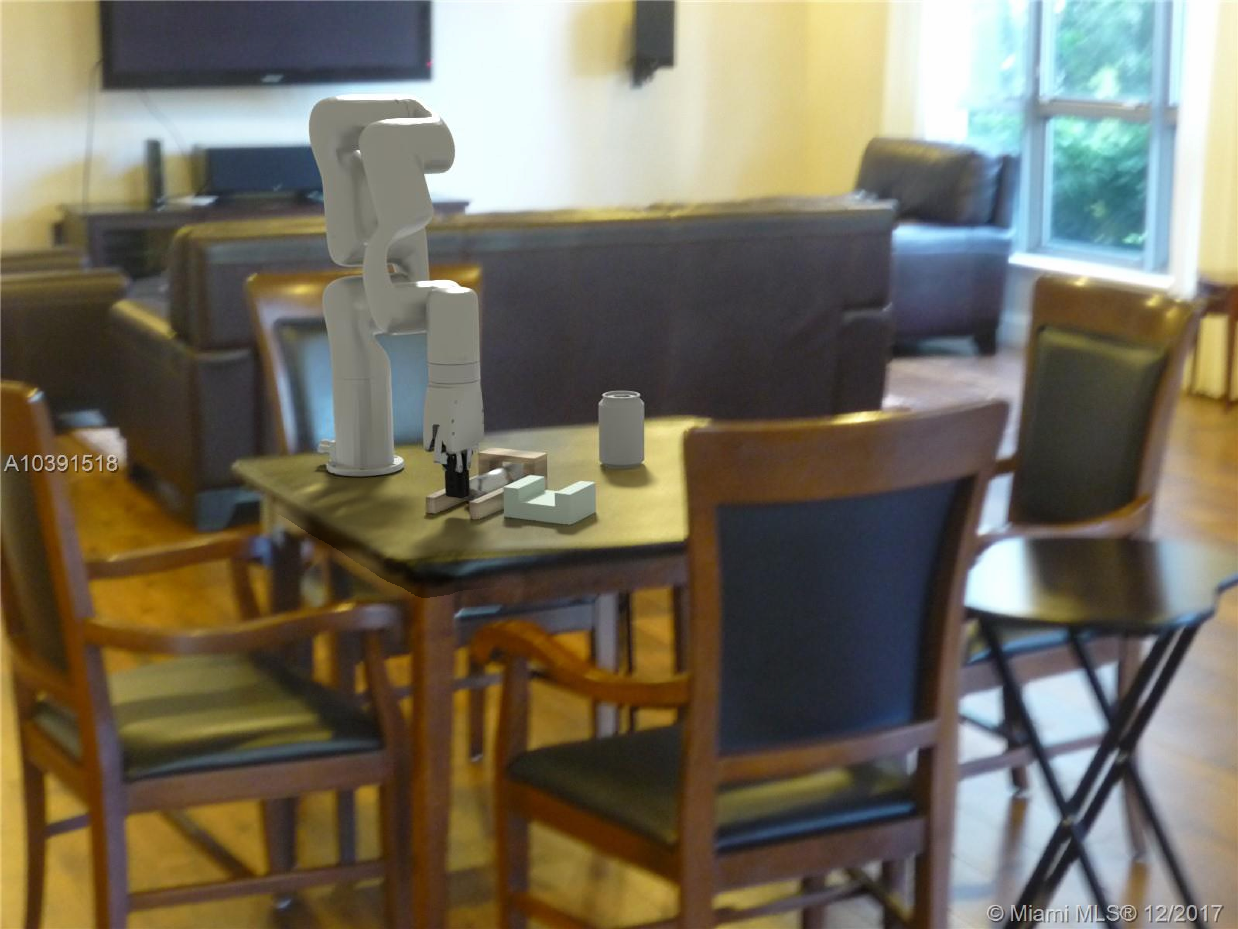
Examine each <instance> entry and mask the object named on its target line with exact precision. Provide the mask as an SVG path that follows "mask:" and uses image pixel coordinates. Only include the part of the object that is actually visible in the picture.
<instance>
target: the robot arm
mask: <svg viewBox="0 0 1238 929" xmlns="http://www.w3.org/2000/svg"><path fill="white" fill-rule="evenodd" d="M308 135H309V142H310V147H311V150H312V151H311V152H312V153H313V157H314V160H315V161H316V165H317V168H318V171H319V174H320V178H321V182H322V183H321V184H322V193H323V195H322V196H323V206H324V207H323V208H324V209H323V210H324V222H325V233H326V240H327V241H326V242H327V250H328V254H329V256H330V258H331V260H332V261H333V263H335V264H336V265H338V266H343V267H347V268H348V267H350V268H351V267H352V268H353V267H355V268H356V267H359V268H360V267H362V274H358V275H357V274H355V275H349V276H348V275H347V276H342V277H339V278H337V279H334V280H332V281H330V283H329V284H327V285H326V287H325V288H324V290H323V293H322V298H321V301H322V302H321V304H322V312H323V316H324V322H325V325H326V326H325V327H326V332H327V336H328V337H327V338H328V343H329V344H328V345H329V351H330V365H331V366H330V368H331V382H332V383H331V384H332V387H331V388H332V401H333V402H332V407H333V408H332V410H333V430H334V439H326V438H322V439H321V440H319V441H320V442H319V444H318V445H317V452H318V453H320V454H321V453H322V454H329V460H328V461H327V462H326V470H327V471H328V472H329V473H331V474H333V473H334V475H339V476H345V477H373V476H374V477H375V476H382V475H388V474H392V473H396V472H399V471H400V470H403V468H404V466H405V460H404V458H402V457H401V456H399V455H395V445H394V444H395V443H394V442H395V441H394V419H393V415H394V413H393V412H394V411H393V389H392V368H391V367H392V366H391V360H390V358H389V355H388V354H387V352H386V350H385V349H384V348H383V347H382V346H381V344H380V343H379V342H378V340H377V339H376V337H375V336H376V335H380V334H387V335H389V336H402V335H404V336H405V335H413V334H421V333H426V350H427V352H426V354H427V382H428V383H427V384H428V385H426V391H425V398H424V406H423V426H422V427H423V435H422V439H423V441H422V442H423V449H424V451H425V452H427V453H433V457H432V460H433V461H432V462H433V463H434V464H441V468H442V471H444V485H445V486H444V489H445V494H446V496H447V497H454V498H465V497H467V496H469V495H470V486H469V478H470V469H471V466H472V457H473V455H474V454H475V453H476V452H477V451H478V450H479V448H480V444H481V442H482V441H483V440H484V437H485V436H484V435H485V417H484V414H485V413H484V405H483V396H482V395H483V394H482V389H481V388H482V387H481V362H480V361H481V360H480V357H481V355H480V325H479V324H480V323H479V322H480V319H479V317H480V316H479V313H480V312H479V298H478V295H477V292H476V291H475V290H474V289H472V288H470V287H469V288H468V287H465V286H461V285H460V284H459V283H457V282H456V281H453V280H449V279H441V280H440V279H438V280H430V267H429V266H430V265H429V251H428V239H427V238H428V237H427V233H426V226H427V225H429V224H430V222H431V221H432V220H433V217H434V216H435V214H434V213H435V210H434V209H435V208H434V204H433V202H432V201H433V200H432V198H431V194H430V191H429V188H428V185H427V184H428V183H427V180H426V176H425V175H434V174H435V175H437V174H438V175H440V174H443V173H446V172H449V170H450V169H451V168H452V166H453V164H454V162H455V158H456V157H455V156H456V154H455V153H456V148H455V147H456V145H455V141H454V138H453V134H452V132H451V130H450V129H449V127H448V125H447V124H446V122H445V121H444V120H443V118H442V117H441V116H440V115H438V114H437V112H435V111H434V110H433V109H432V108H431V107H429V106H428V105H427V104H425V103H424V101H422V100H421V99H419V98H418V97H416V96H414V95H411V94H410V95H409V94H398V93H396V94H344V95H343V94H342V95H334V96H330V97H325V98H323V99H320V100H319V101H317V102H316V103H315V104H314V106H312V109H311V111H310V115H309V119H308ZM389 265H392V268H393V272H389V269H388V268H389V267H388V266H389Z"/></svg>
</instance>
